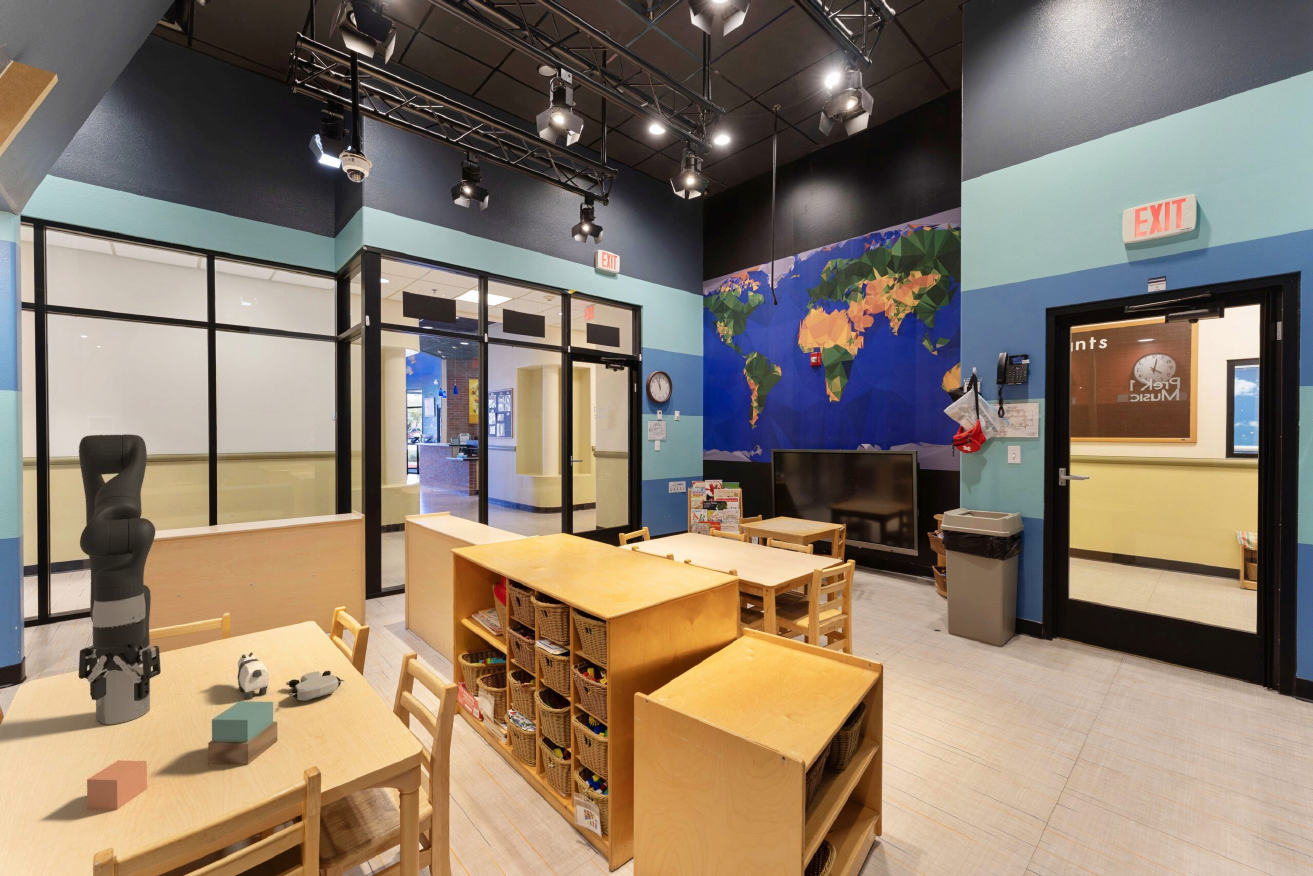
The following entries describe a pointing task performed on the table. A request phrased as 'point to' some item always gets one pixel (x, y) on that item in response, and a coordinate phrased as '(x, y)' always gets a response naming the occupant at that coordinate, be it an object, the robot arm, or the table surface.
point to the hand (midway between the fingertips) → (120, 698)
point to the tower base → (242, 748)
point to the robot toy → (314, 685)
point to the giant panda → (252, 676)
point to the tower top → (242, 721)
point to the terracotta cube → (116, 785)
